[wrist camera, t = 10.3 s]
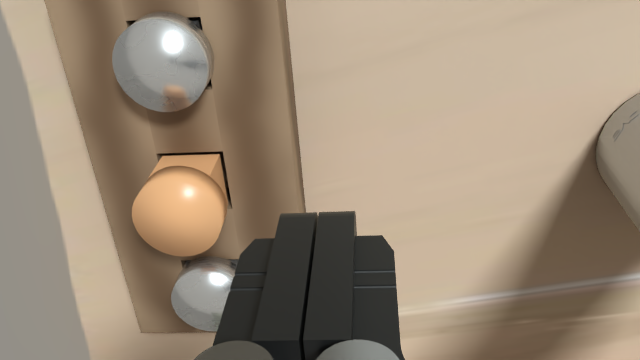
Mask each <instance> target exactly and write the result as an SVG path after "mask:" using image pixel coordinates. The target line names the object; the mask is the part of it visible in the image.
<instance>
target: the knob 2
mask: <svg viewBox="0 0 640 360" xmlns="http://www.w3.org/2000/svg"><path fill="white" fill-rule="evenodd" d="M238 260H239V259H224V258H221V257H215V256H204V257H199V258H196V259H193V260H186V263H185V266H184V267H183V268H182V270H181V271H180V274H179V276H178V278H177V281H176V283H175V286H174V288H173V290H172V294H171V302H172V306H173V308H174V310H175V312H176V313H177V315H178V316H179V317H180V318H181V319H182V320H183V321H184V322H186V323H187V324H189V325H191V326H193V327H195V328H197V329H200V330H204V331H213V332H217V330H218V326H219V323H220V320H221V317H222V313H223V310H224V307H225V303H226V300H227V297H228V293H229V291H230V287H231V283H232V280H233V277H234V276H235V270H236V267H237V263H238Z"/></svg>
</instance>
